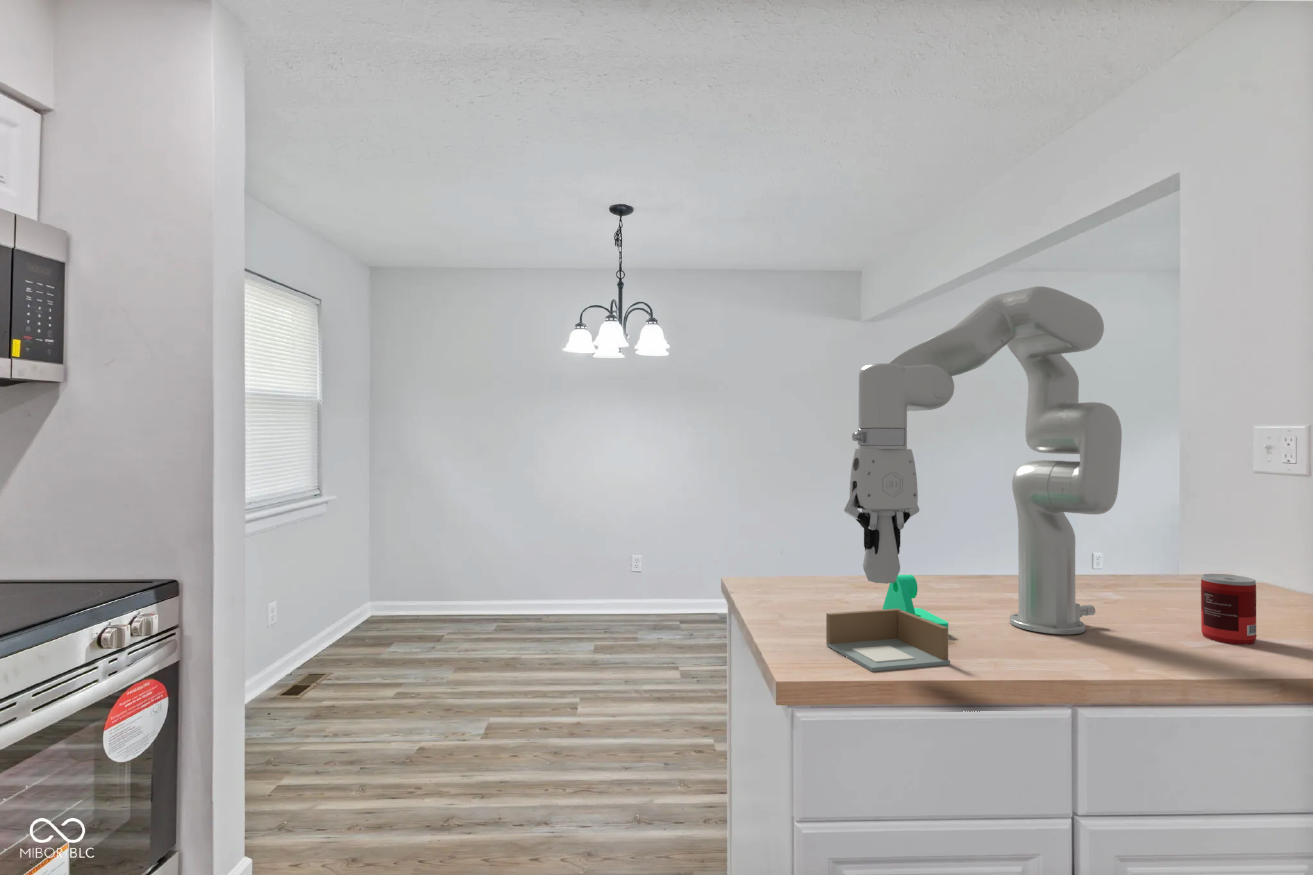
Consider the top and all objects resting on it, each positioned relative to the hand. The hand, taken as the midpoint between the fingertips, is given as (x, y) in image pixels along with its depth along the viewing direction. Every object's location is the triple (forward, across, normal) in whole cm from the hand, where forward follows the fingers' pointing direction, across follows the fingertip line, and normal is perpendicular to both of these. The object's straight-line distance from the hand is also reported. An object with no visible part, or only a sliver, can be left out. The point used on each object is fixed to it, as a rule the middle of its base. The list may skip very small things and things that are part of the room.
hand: (882, 552), depth 113 cm
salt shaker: (+5, 0, 0) cm, 5 cm away
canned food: (+17, +67, -5) cm, 69 cm away
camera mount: (+18, +17, +15) cm, 28 cm away
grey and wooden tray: (+17, +2, +2) cm, 17 cm away
